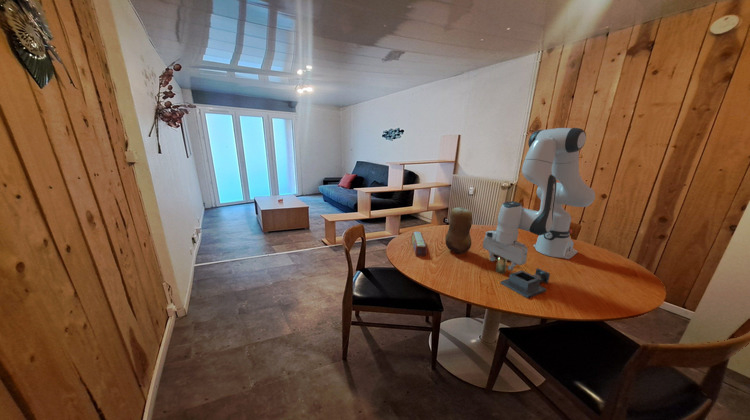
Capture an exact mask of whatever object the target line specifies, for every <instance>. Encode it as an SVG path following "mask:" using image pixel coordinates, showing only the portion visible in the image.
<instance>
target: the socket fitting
mask: <svg viewBox="0 0 750 420" xmlns="http://www.w3.org/2000/svg"><path fill="white" fill-rule="evenodd" d="M550 275H551V273H549V272H547V271H545V270H543V269H541V268H536V270H535V273H534V274H530V273H528V272H527V271H526V270H525V271H524V270H518V271H515V272H512V273H510V274H509V277H508V278H506V279H502V280H501V281H500V284H501V285H503V286H504V287H506V288H509V289H510V290H512V291H513V292H516V293H517V294H519V295H521V296H522V297H524V298H526V299H531V298H533V297H536V296H538V295H540V294H543V293H546V292H547V288H545V287H544V286H542V285H540V284H541V283H542V282H543V283H544V284H549V280H550Z"/></svg>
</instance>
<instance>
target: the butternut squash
mask: <svg viewBox="0 0 750 420" xmlns="http://www.w3.org/2000/svg"><path fill="white" fill-rule="evenodd" d="M449 218H450V219H449V223H448V230H447V232H446V234H445V246H446V247H447V248H448V250H450V251H451V252H454V254H456V255H460V254H461V255H462V254H465V253H468V252H469V251H470V249H471V248H472V243H473V242H472V236H471V233H470V232H471V228H472V225H473V224H472V223H473V214H472V211H470V210H469V209H467V208H464V207H454V208H452V209H451V211H450V215H449Z"/></svg>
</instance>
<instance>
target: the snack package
mask: <svg viewBox="0 0 750 420" xmlns="http://www.w3.org/2000/svg"><path fill="white" fill-rule="evenodd" d="M411 242H412V245H413V249H414V250H413V251H414V254H415V256H416V255H417V256H416V257H424V256H426V255H427V252H428V251H427V250H428V246H427V244H426V240H425V239H424V236H423V233H422V232H420V231H412V233H411Z"/></svg>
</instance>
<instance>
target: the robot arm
mask: <svg viewBox="0 0 750 420" xmlns="http://www.w3.org/2000/svg"><path fill="white" fill-rule="evenodd" d="M586 141H587V133H586V131H585V130H584V129H582V128H580V127H579V128H578V127H572V128H571V127H556V128H548V129H538V130H536V131H533V133H531V135H530V136H529V138H528V142H527V143H528V145H527V146H528V150H527V153H526V155H525V158H524V160H523V164H522V168H521V173H522V176H523V177H524V178H525V180H527V181H528V182H530V183H532V184H533V185H535V186H537V189H536V196H537V197H538V198H539V199H540V204H539V205H540V206H539V210H534V209H529V208H525V207H523V205H522V204H521V203H520V202H518V201H513V200H511V201H505V202H503V203H502V205H501V206H500V209H499V211H498V212H499V213H498V217H497V226H496V229H495V230H488V231H485V236H484V238H483V241H482V248H483V250H486V251H488V254H489V260H490V261H491V262H495V261H496V259H495V257H494V255H493V253H494V254H496V255H499V256H501V257H503V258H505V259H507V261H509V262H510V264H508V266H507V270H509V271H513V270H514V268H515V266H517V265H519V266H523V265H525V264H526V263H527V258H528V251H529V249H528V247H527V246H526V244H525V243H522V242H519V241H518V236H519V230H522V231H525V232H526V231H527V232H529V233H531V234H534V235H537V236H538V237H537V240H536V243H535V244H533V247H534V248H535V250H536V251H537V252H539V253H540V254H542V255H544V256H548V257H552V258H559V259H560V258H562V259H567V260H570V259H571V258H572V257H574V256H575V255H577V254H578V250H577V249H575V248H574V244H575V243H574V241H573V240H572V239H571V238H570V234H572V233H573V230H572V229H570V226H571V222H572V216H571V214H570V213H569V212H568V211H566V210H565V208H564V207H563V206H570V207H575V208H576V207H577V208H586V207H589V206H590V205H592V204H593V203H594V201H595V199H596V192H595V190H594V189H593V188H592V187H590V186H589V185H587V184H586V183H585V182H584V180H583V179H582V175H581V174H580V168H579V167H580V165H579V162H580V159H579V158H580V150H582V149H583V147H584V146H585V144H586ZM557 181H558V182H557Z"/></svg>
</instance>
